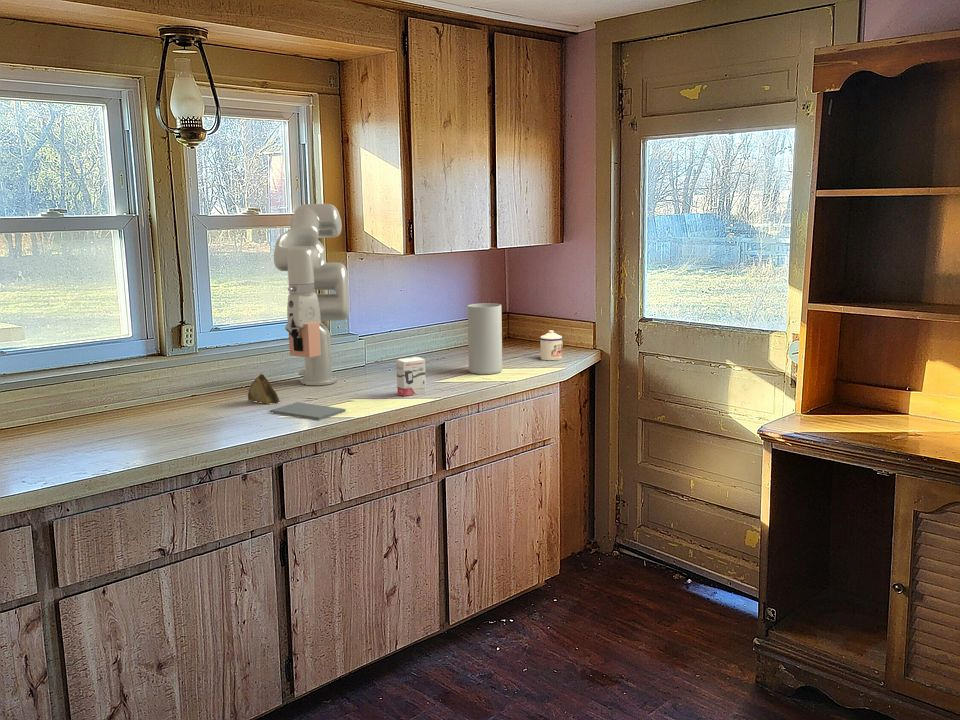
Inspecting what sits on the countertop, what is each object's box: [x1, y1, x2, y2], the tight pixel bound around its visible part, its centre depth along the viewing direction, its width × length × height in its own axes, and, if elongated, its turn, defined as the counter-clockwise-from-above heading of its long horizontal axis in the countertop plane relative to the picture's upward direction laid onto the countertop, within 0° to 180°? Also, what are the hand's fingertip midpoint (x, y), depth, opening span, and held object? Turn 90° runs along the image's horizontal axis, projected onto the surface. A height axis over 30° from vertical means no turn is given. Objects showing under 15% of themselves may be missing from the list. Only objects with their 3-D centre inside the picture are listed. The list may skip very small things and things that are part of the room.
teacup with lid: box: [539, 329, 564, 361], centre depth 348 cm, size 12×9×12 cm
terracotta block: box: [288, 322, 321, 358], centre depth 261 cm, size 5×8×10 cm, turn 58°
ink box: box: [395, 356, 427, 397], centre depth 287 cm, size 8×5×12 cm, turn 123°
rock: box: [247, 373, 281, 405], centre depth 280 cm, size 11×9×10 cm
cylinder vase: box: [467, 302, 503, 375], centre depth 322 cm, size 12×12×25 cm
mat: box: [269, 401, 347, 421], centre depth 265 cm, size 20×12×1 cm, turn 58°
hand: (305, 348), depth 262 cm, fingers closed on terracotta block, 5 cm apart
